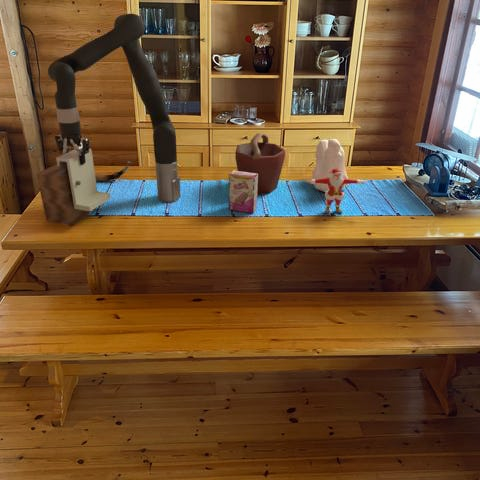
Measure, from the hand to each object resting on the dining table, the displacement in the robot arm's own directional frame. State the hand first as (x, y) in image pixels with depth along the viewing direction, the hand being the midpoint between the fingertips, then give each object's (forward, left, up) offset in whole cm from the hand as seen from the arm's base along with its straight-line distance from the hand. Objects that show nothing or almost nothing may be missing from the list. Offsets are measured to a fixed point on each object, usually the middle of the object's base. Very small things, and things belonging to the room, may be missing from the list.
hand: (75, 163), depth 185 cm
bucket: (-57, -55, -23) cm, 82 cm away
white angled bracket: (-3, 0, -16) cm, 16 cm away
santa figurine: (-95, -41, -23) cm, 106 cm away
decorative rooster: (-88, -68, -23) cm, 113 cm away
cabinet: (+5, 0, -23) cm, 23 cm away
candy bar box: (-59, -29, -23) cm, 69 cm away
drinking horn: (+15, -35, -23) cm, 45 cm away
